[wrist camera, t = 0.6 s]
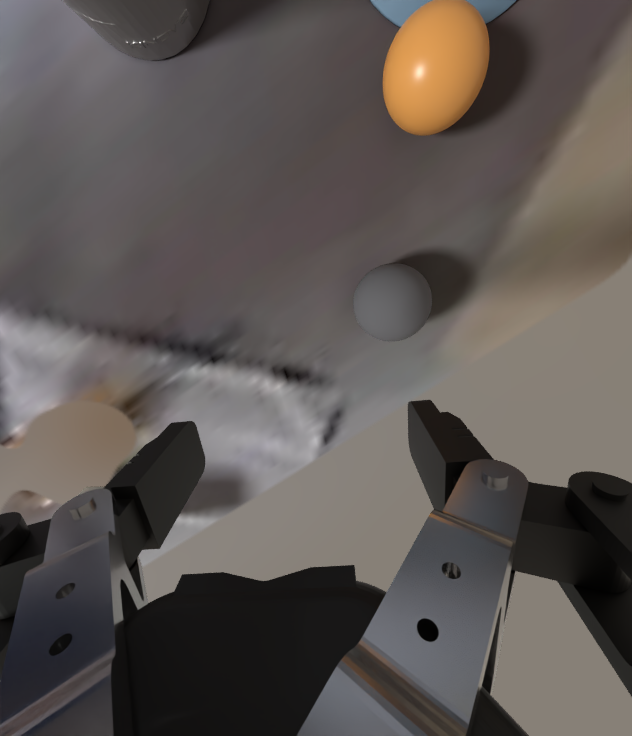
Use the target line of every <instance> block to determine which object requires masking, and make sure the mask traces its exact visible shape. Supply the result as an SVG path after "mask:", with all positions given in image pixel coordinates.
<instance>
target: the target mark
mask: <svg viewBox="0 0 632 736" xmlns="http://www.w3.org/2000/svg"><path fill="white" fill-rule="evenodd" d="M430 1H432V0H370V2H371V3H372V5H373V6H374V7H375V8H376V9H377V10H378V11H379V12H380V13H381V14H382V15H383V16H384V17H385V18H387V19H388V20H389V21H390V22H392V23H393V24H394V25H396V26H398V27H400V28H401V26H402V25H403V24H404V23H405V21H406V20H407V19H408V18H409V17H410V16H411V15H412V14H413V13H414V12H415V11H416V10H417V9H419V8H420V7H421V6H423V5H425V4H426V3H428V2H430ZM465 1H467V2H469V3H470V4H472V5H473V6H474V7H475V8H476V9H477V10H478V11H479V13H480V14H481V16H482V18H483V20H484V22H485V24H487V23H489V22H491V21H492V20H493V19H495V18H496V17H498V16H499V15H500V14H502V13H503V12H504V11H506V10H507V9H508V8H509V7H510V6H511V5H512V4H513V3H514V2H515V1H516V0H465Z"/></svg>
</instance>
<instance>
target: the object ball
mask: <svg viewBox="0 0 632 736" xmlns="http://www.w3.org/2000/svg"><path fill="white" fill-rule="evenodd" d="M489 51H490V47H489V36H488V31H487V27H486V24H485V22H484V20H483V18H482V16H481V14H480V13H479V11H478V10H477V9H476V8H475V7H474V6H473V5H472V4H470V3H469V2H467V1H465V0H432V1H430V2H428V3H426V4H425V5H423V6H421V7H420V8H419V9H417V10H416V11H415V12H414V13H413V14H412V15H411V16H410V17H409V18H408V19H407V20H406V21H405V23H404V24H403V25H402V26H401V28H400V29H399V31H398V32H397V34H396V36H395V38H394V40H393V42H392V44H391V46H390V49H389V51H388V54H387V58H386V62H385V66H384V72H383V94H384V100H385V104H386V107H387V110H388V112H389V114H390V116H391V117H392V119H393V120H394V122H395V123H396V124H397V125H398V126H399V127H400V128H402V129H403V130H404V131H406V132H408V133H411V134H414V135H420V136H424V135H431V134H436V133H439V132H441V131H443V130H445V129H447V128H448V127H450V126H451V125H453V124H454V123H456V122H457V121H458V120H459V119H460V118H461V117H462V116H463V115H464V114H465V113H466V112H467V111H468V109H469V108H470V106H471V105H472V104H473V102H474V100H475V99H476V97H477V95H478V93H479V91H480V89H481V87H482V85H483V82H484V79H485V76H486V72H487V68H488V63H489Z"/></svg>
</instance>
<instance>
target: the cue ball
mask: <svg viewBox="0 0 632 736" xmlns="http://www.w3.org/2000/svg"><path fill="white" fill-rule="evenodd" d="M431 307H432V294H431V290H430V287H429V284H428V282H427V281H426V279H425V278H424V277H423V275H422V274H421V273H420V272H418V271H417V270H416V269H414V268H412V267H410V266H408V265H404V264H398V263H390V264H385V265H381V266H379V267H377V268H375V269H373V270H371V271H370V272H369V273H368V274H367V275H366V276H365V277H364V278H363V279H362V280H361V281H360V283H359V285H358V286H357V289H356V291H355V295H354V300H353V308H354V314H355V317H356V320H357V322H358V323H359V325H360V326H361V328H362V329H363V330H364V331H365V332H366V333H367V334H369V335H370V336H372V337H374V338H376V339H378V340H382V341H400V340H404V339H406V338H408V337H410V336H412V335H414V334H415V333H416V332H418V331H419V330H420V329H421V328H422V327H423V325H424V324H425V322H426V321H427V319H428V317H429V315H430V312H431Z"/></svg>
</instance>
